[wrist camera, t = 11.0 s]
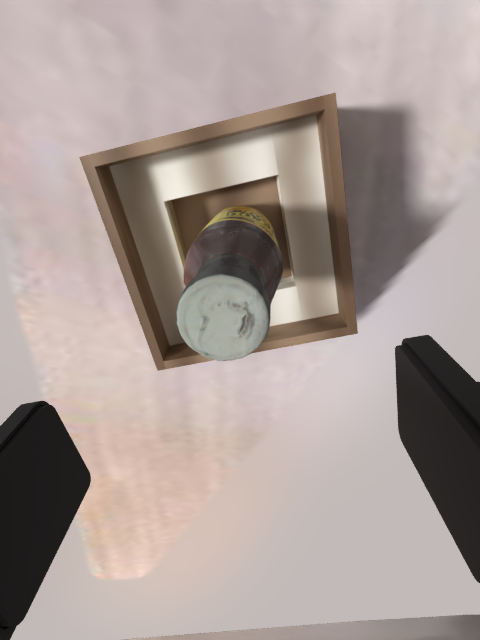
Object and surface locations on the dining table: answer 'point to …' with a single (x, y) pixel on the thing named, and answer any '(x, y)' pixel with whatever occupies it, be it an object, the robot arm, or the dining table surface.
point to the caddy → (226, 191)
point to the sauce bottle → (230, 285)
